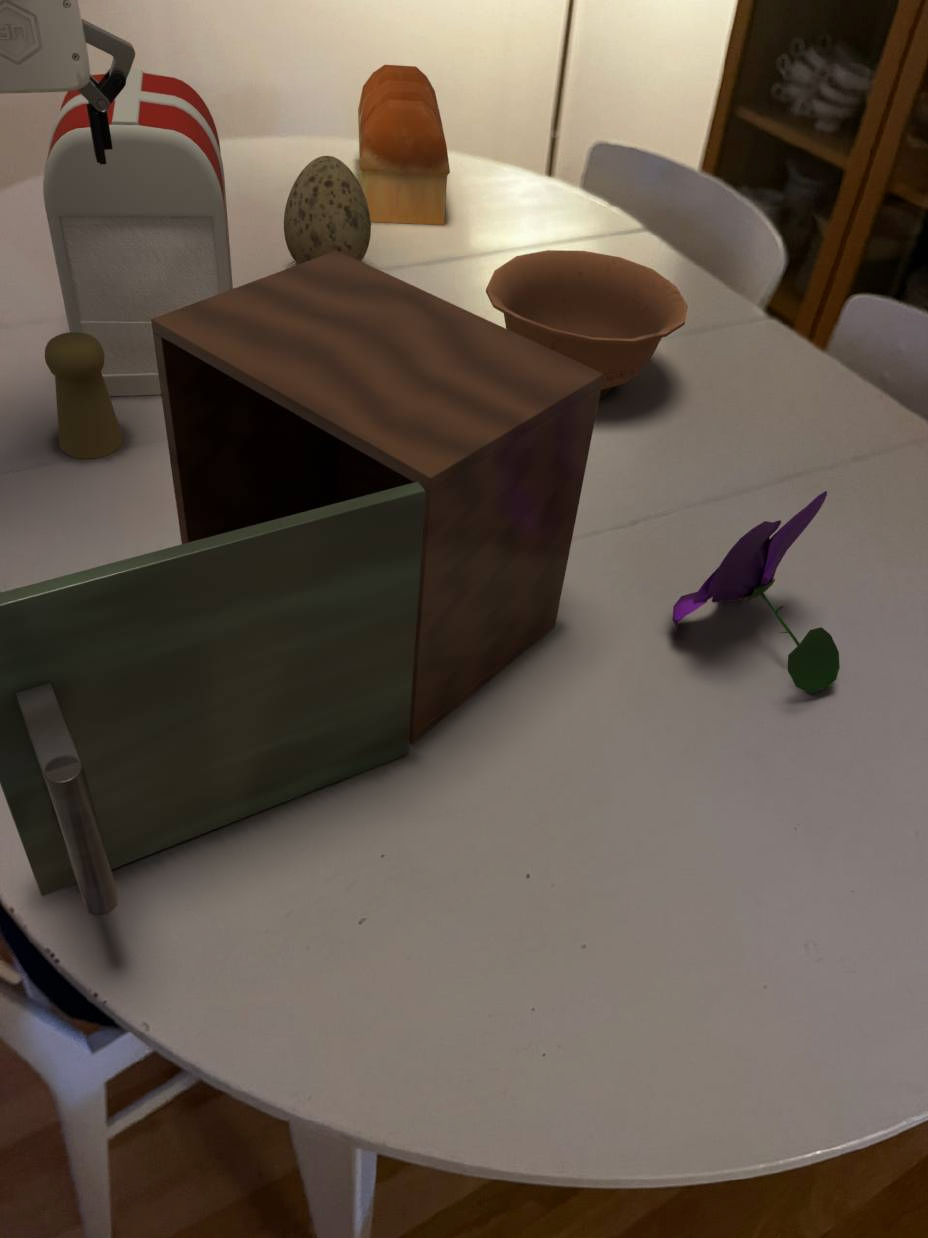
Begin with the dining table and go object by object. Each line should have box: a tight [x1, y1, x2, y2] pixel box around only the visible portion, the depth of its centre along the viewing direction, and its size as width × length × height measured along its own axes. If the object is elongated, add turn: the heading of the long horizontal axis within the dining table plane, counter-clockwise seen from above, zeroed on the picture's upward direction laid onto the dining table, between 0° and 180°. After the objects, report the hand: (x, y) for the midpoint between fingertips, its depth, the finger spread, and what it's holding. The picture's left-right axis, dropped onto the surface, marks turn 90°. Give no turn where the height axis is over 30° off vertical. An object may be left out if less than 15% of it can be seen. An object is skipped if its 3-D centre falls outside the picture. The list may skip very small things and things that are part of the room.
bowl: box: [485, 249, 689, 398], centre depth 114 cm, size 22×22×11 cm
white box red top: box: [42, 68, 234, 397], centre depth 105 cm, size 16×18×27 cm
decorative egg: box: [283, 155, 372, 265], centre depth 127 cm, size 11×11×15 cm
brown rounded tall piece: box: [44, 331, 124, 459], centre depth 97 cm, size 6×6×11 cm
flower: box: [671, 490, 841, 694], centre depth 82 cm, size 15×15×14 cm
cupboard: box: [151, 251, 604, 745], centre depth 78 cm, size 18×26×24 cm
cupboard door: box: [0, 482, 425, 917], centre depth 60 cm, size 8×26×24 cm, turn 120°
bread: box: [357, 64, 451, 226], centre depth 150 cm, size 25×12×15 cm, turn 5°
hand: (38, 161), depth 83 cm, fingers open, 9 cm apart
